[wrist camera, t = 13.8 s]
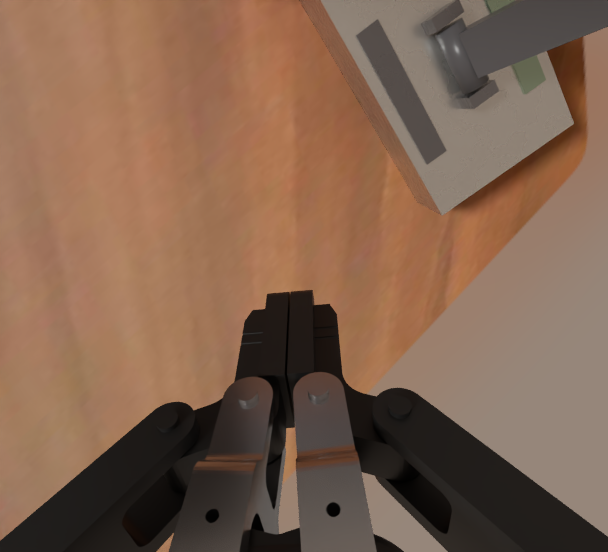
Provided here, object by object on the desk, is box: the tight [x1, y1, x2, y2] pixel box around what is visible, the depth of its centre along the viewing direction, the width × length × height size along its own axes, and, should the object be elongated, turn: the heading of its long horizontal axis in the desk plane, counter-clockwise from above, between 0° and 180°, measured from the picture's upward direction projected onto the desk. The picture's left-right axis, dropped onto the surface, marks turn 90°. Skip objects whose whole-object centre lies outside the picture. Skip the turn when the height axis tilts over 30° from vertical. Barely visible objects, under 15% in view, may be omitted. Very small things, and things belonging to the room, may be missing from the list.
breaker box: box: [299, 0, 574, 215], centre depth 37 cm, size 22×14×8 cm, turn 35°
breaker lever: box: [435, 0, 608, 94], centre depth 29 cm, size 5×2×15 cm, turn 35°
